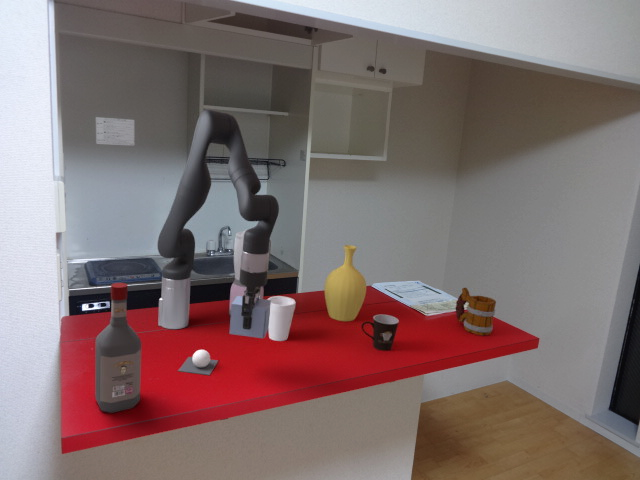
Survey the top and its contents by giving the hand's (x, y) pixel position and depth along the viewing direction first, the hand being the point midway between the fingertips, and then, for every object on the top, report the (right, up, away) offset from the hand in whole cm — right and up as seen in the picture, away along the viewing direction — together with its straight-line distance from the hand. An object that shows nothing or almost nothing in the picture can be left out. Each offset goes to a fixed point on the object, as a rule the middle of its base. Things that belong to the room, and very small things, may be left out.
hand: (249, 323), depth 140 cm
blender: (-7, -4, +48) cm, 48 cm away
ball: (-14, -11, +3) cm, 18 cm away
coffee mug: (+40, -13, +31) cm, 52 cm away
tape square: (-15, -13, +4) cm, 20 cm away
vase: (+28, -6, +55) cm, 62 cm away
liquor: (-30, -16, -18) cm, 38 cm away
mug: (+79, -11, +56) cm, 98 cm away
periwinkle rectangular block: (0, -2, +1) cm, 2 cm away
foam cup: (+6, -10, +29) cm, 31 cm away
